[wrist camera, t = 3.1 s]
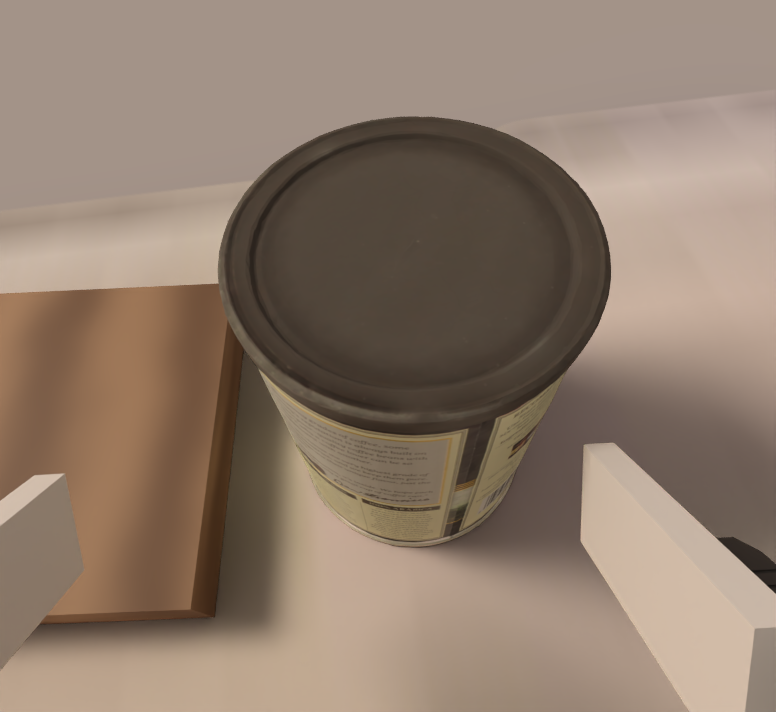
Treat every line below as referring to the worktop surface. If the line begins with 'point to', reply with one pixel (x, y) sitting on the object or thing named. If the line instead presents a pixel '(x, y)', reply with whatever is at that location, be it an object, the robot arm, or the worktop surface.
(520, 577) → the worktop surface
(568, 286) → the coffee can
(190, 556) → the walnut board
